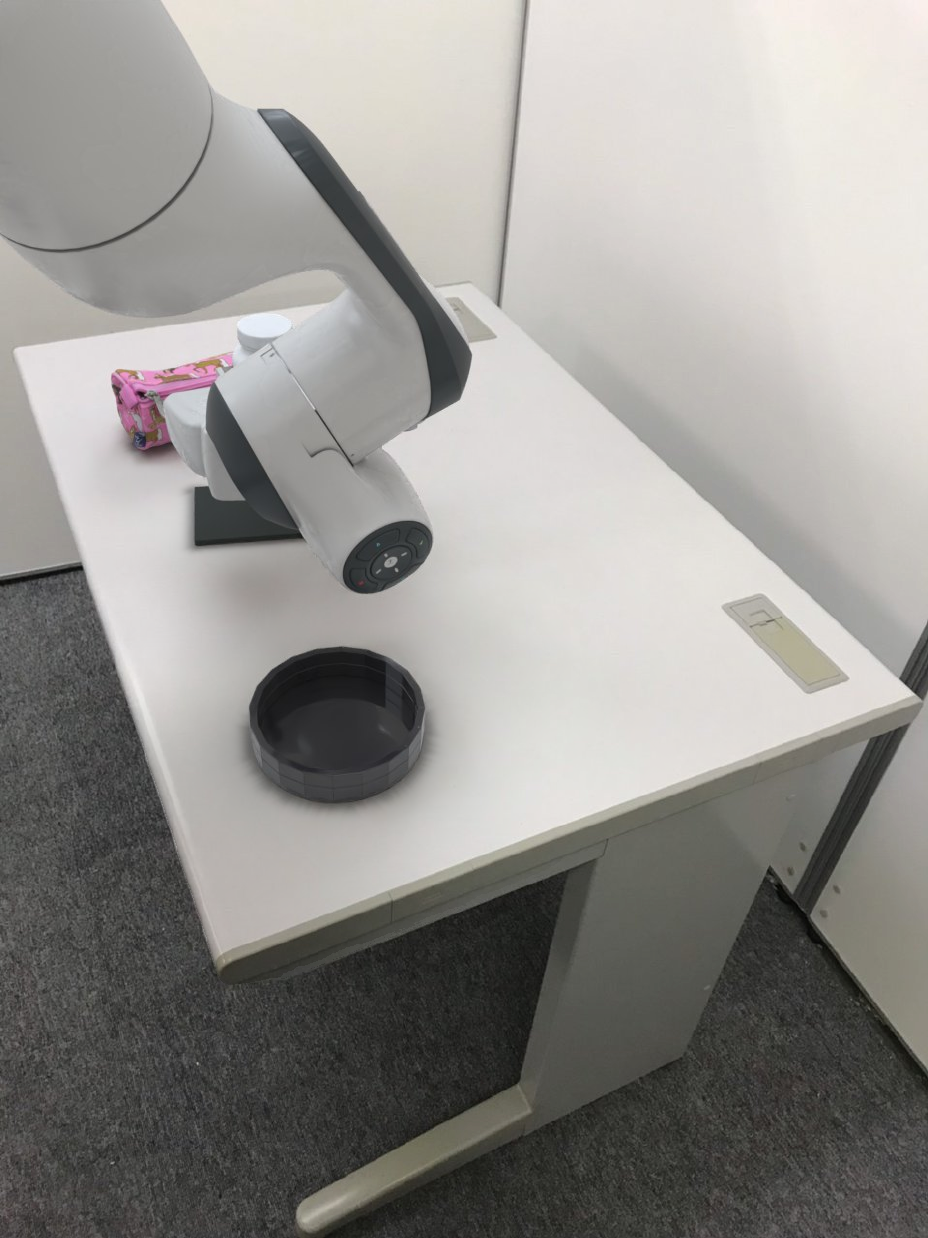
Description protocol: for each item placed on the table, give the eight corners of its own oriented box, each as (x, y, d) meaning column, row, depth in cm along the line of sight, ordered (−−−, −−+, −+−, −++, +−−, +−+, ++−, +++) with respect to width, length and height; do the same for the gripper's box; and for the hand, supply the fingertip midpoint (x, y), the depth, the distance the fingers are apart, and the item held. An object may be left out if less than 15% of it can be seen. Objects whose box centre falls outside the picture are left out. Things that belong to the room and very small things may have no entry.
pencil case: (140, 469, 101) (125, 393, 95) (114, 427, 107) (99, 353, 101) (328, 424, 110) (325, 351, 104) (295, 387, 115) (291, 316, 109)
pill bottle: (240, 456, 87) (227, 341, 80) (240, 421, 92) (227, 309, 84) (310, 452, 88) (303, 339, 81) (306, 418, 93) (299, 307, 85)
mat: (195, 545, 92) (194, 540, 92) (195, 491, 99) (194, 486, 98) (362, 533, 95) (362, 528, 95) (352, 481, 102) (352, 476, 101)
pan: (256, 813, 70) (252, 785, 68) (249, 682, 79) (246, 655, 77) (436, 790, 72) (438, 763, 70) (408, 666, 82) (409, 639, 80)
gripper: (436, 388, 79) (374, 317, 88) (183, 434, 71) (144, 351, 80) (434, 455, 83) (374, 380, 92) (194, 504, 76) (156, 418, 85)
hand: (265, 367), depth 86 cm, fingers closed on pill bottle, 6 cm apart
